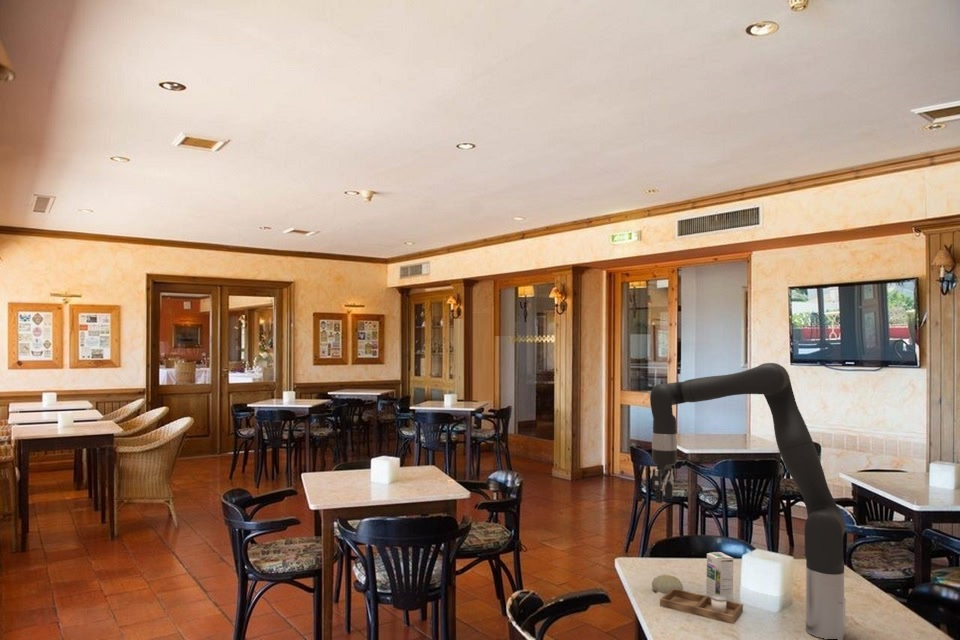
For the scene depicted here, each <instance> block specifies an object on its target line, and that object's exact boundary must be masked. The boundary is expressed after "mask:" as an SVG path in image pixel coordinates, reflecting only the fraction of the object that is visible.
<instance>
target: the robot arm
mask: <svg viewBox="0 0 960 640" xmlns="http://www.w3.org/2000/svg"><path fill="white" fill-rule="evenodd" d="M738 395H739V396H740V395H763V396H764V398H765V400H766V402H767V405H768V407H769V409H770V412H771V415H772V421H773V429H774V431H773V432H774V436H775V442H776V445H777V448H778V451H779V454H780V457H781V459H782V462H783V464H784V466H785V469H786V471H787V472H788V474H789V475H790V476H791V477H790V478H791V479H792V480H793V481H794V483H795V484H796V487H797V488H798V490H799V492H800V494H801V496H802V499H803V502H804V505H805V509H806V512H807V518H806V520H805V522H804V557H805V563H806V564H805V565H806V568H805V569H806V570H805V571H806V572H805V577H806V578H805V631H806V632H807V633H808V634H809V635H811V634H812V635H811V636H813V635H814V636H813V637H816V638H819V637H820V639H822V638H824V640H827V639H839V640H844V639H843V638H845V636H844V635H846V598H845V562H844V535H845V532H846V522H845V519H844V517H843V515H842V513H841V511H840V508H839V507H838V505H837V503H836V501H835V499H834V497H833V495H832V493H831V491H830V488H829V486H828V483H827V479H826V476H825V472H824V469H823V466H822V463H821V459H820V457H819V454H818V451H817V449H816V446H815V442H814V441H813V439H812V436H811V433H810V431H809V429H808V426H807V424H806V422H805V420H804V417H803V415H802V413H801V412H800V410H799V407H798V405H797V402H796V397H795V394H794V391H793V387H792V382H791V378H790V374H789V372H788V371H787V369H786V368H785V367H784V366H782V365H781V364H779V363H775V362H767V363H766V362H765V363H762V364H758V366H754V367H752V368H750V369H745V370H743V371H739V372H734V373H729V374H721V375H712V376H703V377H698V378H697V377H696V378H692V379H687V380H684V381H677V382H668V383H659V384H656V385H654V386H653V388H652V389H651V390H650V395H649V403H650V408H651V414H652V418H653V420H652V439H651V462H652V463H653V464H655V465H656V466H657V467H656V468H653V469H652V479H651V482H652V485H651V486H652V490H655V500H654V501H655V503H657V504H662V503H663V502H664V497H665V498H666V499H672V498H673V496H674V495H673V494H674V493H673V491H674V490H673V487H674V485H675V484H676V482H677V481H676V478H677V477H676V473H677V471H676V469H677V468H676V464H677V463H678V441H677V440H678V439H677V418H676V416H675V415H673V414H674V413H673V412H674V411H673V406H675V405H681V404H685V403H698V402H704V401H705V402H706V401H712V400H717V399H720V398H726V397H731V396H738Z"/></svg>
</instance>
